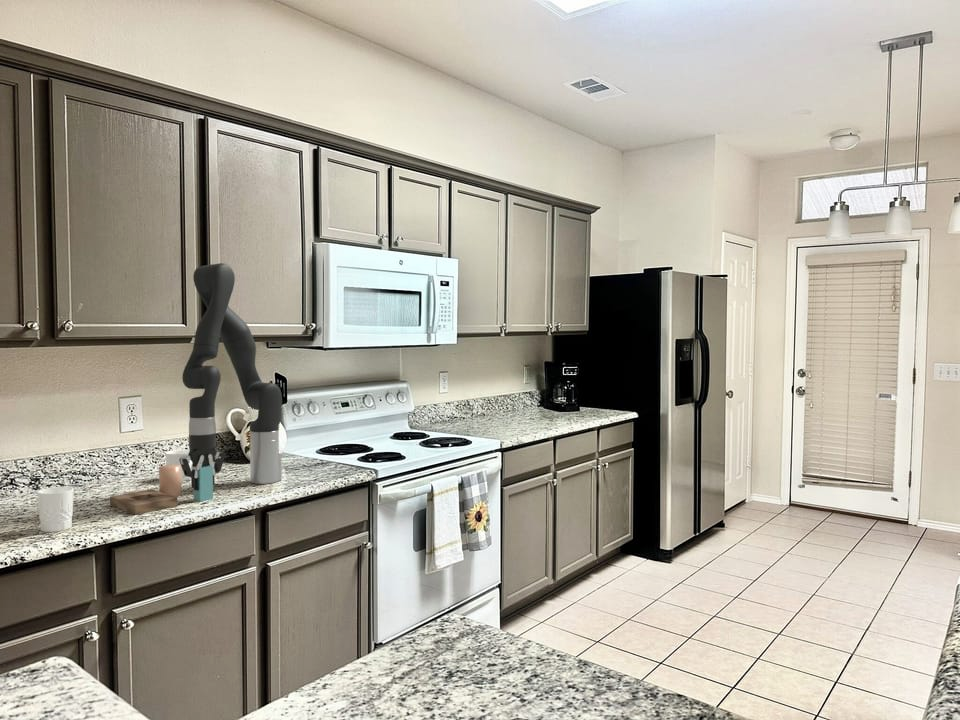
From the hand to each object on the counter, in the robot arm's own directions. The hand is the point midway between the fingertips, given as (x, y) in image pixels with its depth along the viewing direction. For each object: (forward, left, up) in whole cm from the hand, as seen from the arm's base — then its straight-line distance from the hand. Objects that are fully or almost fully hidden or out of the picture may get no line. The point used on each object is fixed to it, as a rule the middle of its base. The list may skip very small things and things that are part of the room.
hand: (203, 488), depth 208 cm
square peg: (0, 0, -3) cm, 3 cm away
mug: (-10, -31, -4) cm, 33 cm away
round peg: (+4, -12, -3) cm, 13 cm away
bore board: (+15, -6, -3) cm, 16 cm away
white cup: (+40, 0, -4) cm, 40 cm away
